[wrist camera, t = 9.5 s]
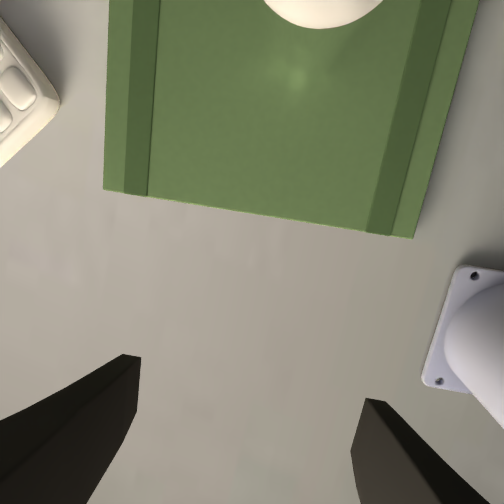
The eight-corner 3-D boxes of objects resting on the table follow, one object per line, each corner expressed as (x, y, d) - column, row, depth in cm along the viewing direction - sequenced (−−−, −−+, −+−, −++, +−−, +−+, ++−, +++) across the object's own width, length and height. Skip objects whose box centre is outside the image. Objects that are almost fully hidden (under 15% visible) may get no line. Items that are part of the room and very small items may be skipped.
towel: (500, -101, 15) (514, -117, 14) (407, 237, 19) (414, 240, 18) (122, -143, 16) (112, -161, 15) (109, 189, 20) (101, 189, 19)
